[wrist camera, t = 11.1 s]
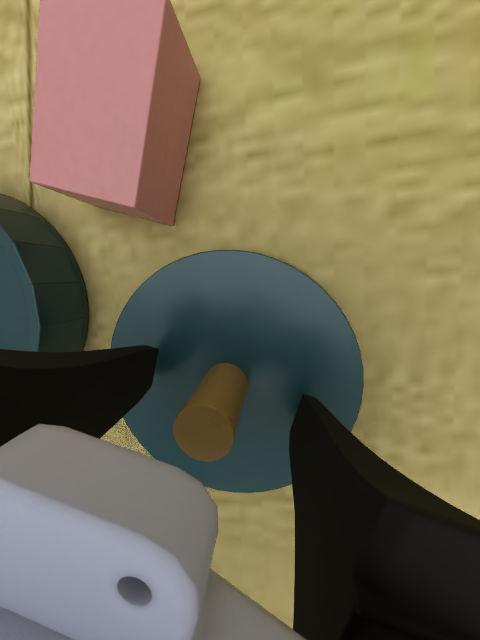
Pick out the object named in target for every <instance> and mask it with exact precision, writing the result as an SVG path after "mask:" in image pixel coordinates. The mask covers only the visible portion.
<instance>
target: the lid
mask: <svg viewBox="0 0 480 640" xmlns="http://www.w3.org/2000/svg"><path fill="white" fill-rule="evenodd" d="M138 345H148V346H151V347H155V348H158V349H159V352H158V357H157V362H156V368H155V373H154V378H153V383H152V386H151V388H150V389H149V390H148V392H147V393H146V394H145V395H144V397H143V398H142V399H141V400H140V401H139V402H138V403H137V404H136V405H135V406H134V407H133V408H132V409H131V410H130V411H129V412H128V413H127V414H126V415H124V416H123V418H124V420H125V422H126V424H127V425H128V427H129V428H130V430H131V432H132V433H133V435H134V436H135V437H136V439H137V440H138V441H139V442H140V444H141V445H142V446H143V447H144V448H145V449H146V450H147V451H148V452H149V453H150V454H151V455H152V456H153V457H154V458H155V459H157V460H159V461H162V462H165V463H168V464H170V465H173V466H176V467H178V468H180V469H181V470H183V471H185V472H186V473H188V474H189V475H191V476H193V477H194V478H196V479H197V480H199V481H200V482H201V483H202V484H203V485H204V486H205V487H209V488H213V489H217V490H222V491H229V492H241V493H252V492H264V491H269V490H274V489H279V488H282V487H285V486H288V485H291V484H292V477H291V468H290V457H289V435H290V429H291V426H292V423H293V420H294V417H295V414H296V412H297V409H298V406H299V403H300V400H301V397H302V395H303V394H305V395H309V396H312V397H315V398H317V399H318V400H319V401H320V402H321V403H322V404H323V405H324V406H325V407H326V408H327V409H328V410H329V411H330V412H331V413H332V414H333V415H334V416H335V417H336V418H337V419H338V420H339V421H340V422H341V423H342V425H343V426H344V427H346V428H347V429H348V430H349V431H350V432H351V431H352V428H353V426H354V424H355V422H356V419H357V416H358V413H359V409H360V406H361V402H362V394H363V365H362V360H361V354H360V349H359V346H358V343H357V340H356V337H355V334H354V332H353V330H352V328H351V326H350V324H349V322H348V320H347V318H346V316H345V315H344V314H343V312H342V311H341V309H340V308H339V306H338V305H337V304H336V302H335V301H334V300H333V299H332V298H331V297H330V295H329V294H328V293H327V292H326V291H325V290H324V289H323V288H322V287H321V286H320V285H318V284H317V283H316V282H315V281H313V280H312V279H311V278H310V277H309V276H307V275H306V274H304V273H302V272H301V271H299V270H298V269H296V268H294V267H293V266H291V265H289V264H286V263H284V262H282V261H280V260H277V259H275V258H272V257H269V256H265V255H262V254H258V253H254V252H247V251H240V250H215V251H208V252H201V253H197V254H194V255H190V256H187V257H184V258H181V259H179V260H177V261H175V262H173V263H170V264H168V265H167V266H165V267H163V268H162V269H160V270H159V271H157V272H156V273H154V274H153V275H152V276H151V277H150V278H148V279H147V280H146V281H145V282H144V283H143V284H142V285H141V286H140V287H139V288H138V289H137V290H136V291H135V293H134V294H133V295H132V296H131V298H130V299H129V301H128V302H127V304H126V305H125V307H124V309H123V311H122V313H121V315H120V317H119V319H118V321H117V324H116V327H115V331H114V334H113V338H112V344H111V349H113V348H121V347H129V346H138Z"/></svg>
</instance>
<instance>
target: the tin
mask: <svg viewBox="0 0 480 640" xmlns="http://www.w3.org/2000/svg"><path fill="white" fill-rule="evenodd" d="M87 329H88V302H87V294H86V290H85V285H84V281H83V279H82V276H81V273H80V270H79V267H78V265H77V263H76V261H75V259H74V257H73V254H72V253H71V251H70V250H69V248H68V246H67V245H66V243H65V241H64V240H63V239H62V238H61V236H60V235H59V234H58V232H57V231H56V230H55V229H54V228H53V227H52V226H51V225H50V224H49V222H48V221H47V220H46V219H44V218H43V217H42V216H41V215H40V214H38V213H37V212H36V211H35V210H33V209H32V208H30V207H29V206H27V205H25V204H24V203H22V202H20V201H18V200H16V199H14V198H11V197H9V196H6V195H3V194H0V349H6V350H18V351H36V352H80V351H82V350H83V347H84V343H85V340H86V336H87Z"/></svg>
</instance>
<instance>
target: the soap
mask: <svg viewBox="0 0 480 640" xmlns="http://www.w3.org/2000/svg"><path fill="white" fill-rule="evenodd" d="M199 82H200V76H199V73H198V71H197V68H196V65H195V63H194V60H193V58H192V55H191V53H190V50H189V48H188V45H187V42H186V40H185V37H184V35H183V32H182V30H181V27H180V24H179V22H178V19H177V17H176V14H175V12H174V9H173V6H172V4H171V1H170V0H40V8H39V26H38V43H37V61H36V79H35V96H34V114H33V132H32V149H31V167H30V181H31V182H32V183H35V184H37V185H40V186H43V187H45V188H48V189H51V190H53V191H56V192H59V193H61V194H64V195H67V196H69V197H72V198H75V199H77V200H80V201H82V202H85V203H88V204H90V205H93V206H96V207H100V208H104V209H108V210H112V211H116V212H120V213H124V214H128V215H132V216H135V217H139V218H143V219H147V220H151V221H155V222H159V223H163V224H167V225H171V226H173V223H174V217H175V212H176V206H177V201H178V196H179V190H180V185H181V179H182V174H183V169H184V163H185V158H186V152H187V147H188V141H189V136H190V131H191V125H192V120H193V114H194V109H195V104H196V98H197V93H198V87H199Z"/></svg>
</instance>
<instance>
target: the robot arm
mask: <svg viewBox="0 0 480 640" xmlns="http://www.w3.org/2000/svg"><path fill="white" fill-rule="evenodd" d="M158 352H159V349H158V348H155V347H151V346H148V345H138V346H129V347H121V348H113V349H103V350H93V351H80V352H36V351H18V350H6V349H0V640H480V520H478V519H476V518H475V517H473V516H471V515H469V514H467V513H465V512H463V511H462V510H460V509H458V508H456V507H454V506H452V505H451V504H449V503H447V502H445V501H444V500H442V499H440V498H439V497H437V496H436V495H434V494H432V493H431V492H429V491H427V490H426V489H424V488H422V487H421V486H419V485H418V484H416V483H415V482H413V481H412V480H410V479H409V478H407V477H406V476H404V475H403V474H402V473H400V472H399V471H397V470H396V469H394V468H393V467H392V466H390V465H389V464H387V463H386V462H385V461H383V460H382V459H381V458H380V457H378V456H377V455H376V454H375V453H373V452H372V451H371V450H370V449H369V448H367V447H366V446H365V445H364V444H363V443H361V442H360V441H359V440H358V439H357V438H356V437H355V436H354V435H353V434H352V433H351V432H350V431H349V430H348V429H347V428H346V427H344V426H343V425H342V423H341V422H340V421H339V420H338V419H337V418H336V417H335V416H334V415H333V414H332V413H331V412H330V411H329V410H328V409H327V408H326V407H325V406H324V405H323V404H322V403H321V402H320V401H319V400H318V399H317V398H315V397H312V396H309V395H305V394H303V395H302V397H301V400H300V403H299V406H298V409H297V412H296V414H295V417H294V420H293V423H292V426H291V429H290V435H289V457H290V468H291V477H292V487H293V496H294V508H295V586H294V623H293V629H291V628H290V627H289V626H287V625H286V624H285V623H283V622H282V621H281V620H279V619H278V618H277V617H275V616H274V615H273V614H271V613H270V612H268V611H267V610H266V609H264V608H263V607H262V606H260V605H259V604H258V603H256V602H255V601H254V600H252V599H251V598H250V597H248V596H247V595H245V594H244V593H243V592H241V591H240V590H239V589H237V588H236V587H235V586H233V585H232V584H231V583H229V582H228V581H227V580H225V579H224V578H223V577H221V576H220V575H218V574H217V573H216V572H214V571H213V570H212V569H210V564H211V560H212V555H213V551H214V547H215V542H216V538H217V534H218V514H217V506H216V504H215V503H214V501H213V499H212V498H211V496H210V495H209V493H208V492H207V490H206V489H205V487H204V485H203V484H202V483H201V482H200V481H199V480H197V479H196V478H194V477H193V476H191V475H189V474H188V473H186V472H185V471H183V470H181V469H180V468H178V467H176V466H173V465H170V464H168V463H165V462H162V461H159V460H157V459H154V458H151V457H148V456H146V455H143V454H140V453H137V452H134V451H132V450H129V449H126V448H123V447H121V446H118V445H115V444H112V443H109V442H107V441H104V440H101V439H100V438H101V437H102V436H103V435H104V434H105V433H106V432H107V431H108V430H109V429H110V428H111V427H113V426H114V425H115V424H116V423H117V422H118V421H119V420H120V419H121V418H122V417H123V416H124V415H126V414H127V413H128V412H129V411H130V410H131V409H132V408H133V407H134V406H135V405H136V404H137V403H138V402H139V401H140V400H141V399H142V398H143V397H144V395H145V394H146V393H147V392H148V390H149V389H150V388H151V386H152V383H153V378H154V373H155V368H156V362H157V357H158Z"/></svg>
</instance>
